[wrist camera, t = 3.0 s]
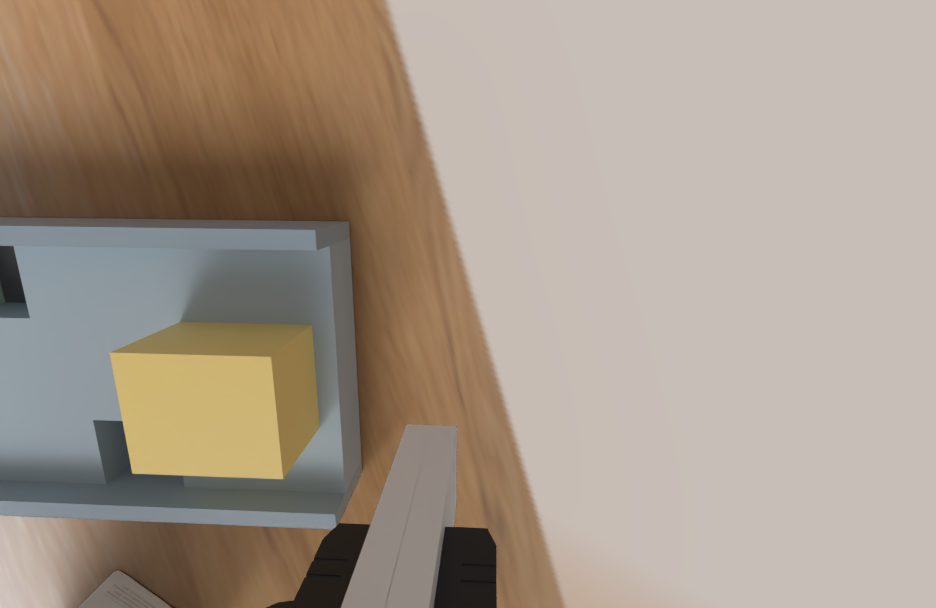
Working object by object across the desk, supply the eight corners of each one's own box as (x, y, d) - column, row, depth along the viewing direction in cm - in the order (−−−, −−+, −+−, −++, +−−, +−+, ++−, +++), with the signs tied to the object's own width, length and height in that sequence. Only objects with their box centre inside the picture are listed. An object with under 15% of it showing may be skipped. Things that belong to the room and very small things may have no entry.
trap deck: (362, 471, 26) (328, 545, 21) (-66, 455, 27) (-203, 522, 22) (349, 221, 23) (305, 232, 17) (-138, 215, 24) (-321, 223, 18)
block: (319, 427, 22) (283, 479, 18) (195, 423, 22) (132, 473, 18) (312, 324, 21) (270, 356, 17) (179, 321, 21) (109, 352, 17)
